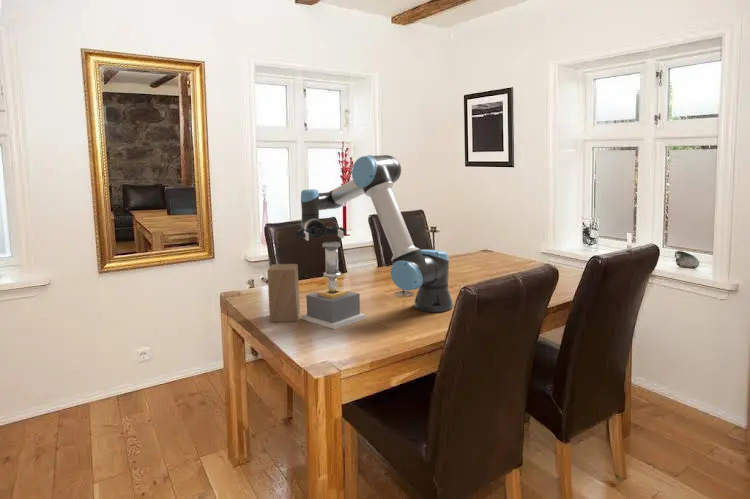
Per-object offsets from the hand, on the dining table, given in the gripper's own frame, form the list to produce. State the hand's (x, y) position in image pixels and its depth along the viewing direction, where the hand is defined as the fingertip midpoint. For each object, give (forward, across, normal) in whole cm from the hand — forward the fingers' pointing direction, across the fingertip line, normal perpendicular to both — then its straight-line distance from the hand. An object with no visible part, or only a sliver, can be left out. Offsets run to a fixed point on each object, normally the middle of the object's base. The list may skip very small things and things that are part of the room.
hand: (325, 236), depth 203 cm
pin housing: (+10, 0, -30) cm, 32 cm away
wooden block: (+3, +17, -30) cm, 35 cm away
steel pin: (+10, 0, -22) cm, 24 cm away
